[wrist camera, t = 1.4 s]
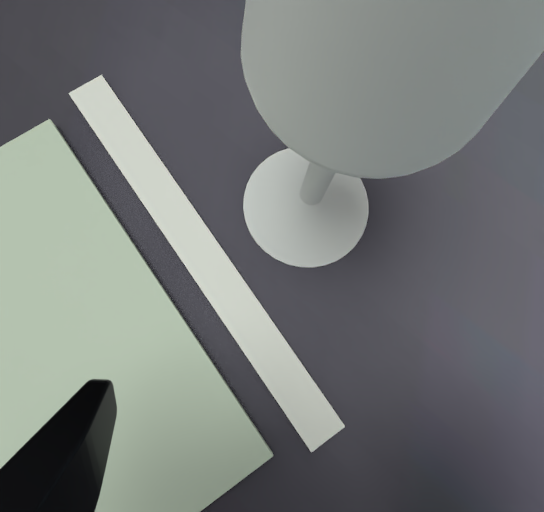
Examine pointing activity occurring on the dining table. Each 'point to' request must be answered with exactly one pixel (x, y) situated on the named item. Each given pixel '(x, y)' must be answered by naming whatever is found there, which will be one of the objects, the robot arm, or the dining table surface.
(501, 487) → the dining table surface
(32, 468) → the robot arm
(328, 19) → the champagne flute
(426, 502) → the dining table surface
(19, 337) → the pale green flat slabs
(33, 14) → the dining table surface
